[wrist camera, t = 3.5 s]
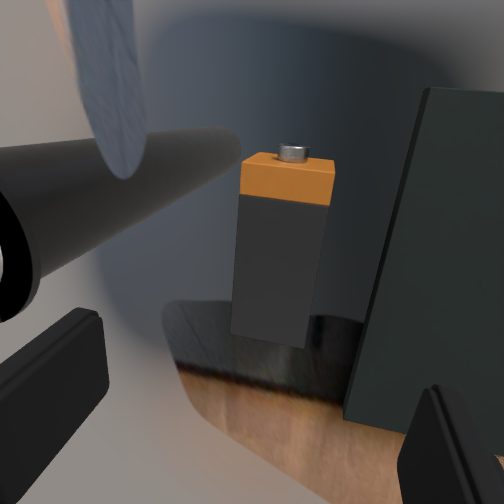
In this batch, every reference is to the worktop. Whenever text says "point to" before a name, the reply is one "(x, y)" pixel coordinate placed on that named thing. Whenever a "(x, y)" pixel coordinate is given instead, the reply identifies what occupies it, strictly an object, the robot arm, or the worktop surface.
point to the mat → (440, 273)
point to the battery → (279, 243)
